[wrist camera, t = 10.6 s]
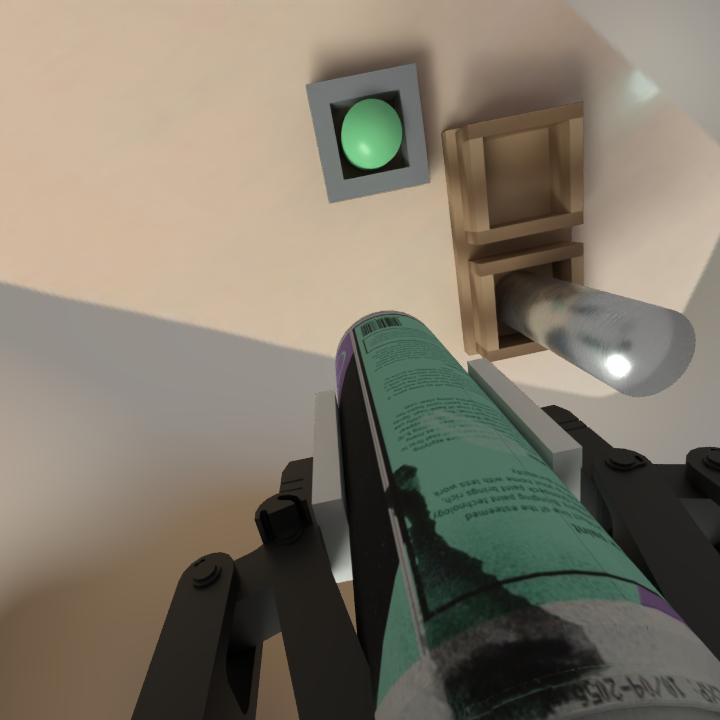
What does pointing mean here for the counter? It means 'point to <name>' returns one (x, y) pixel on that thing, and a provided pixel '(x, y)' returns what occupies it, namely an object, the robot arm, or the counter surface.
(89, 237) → the counter surface
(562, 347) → the seated billet
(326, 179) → the gray square frame
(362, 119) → the button
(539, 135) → the wooden double crate
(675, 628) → the spray can
